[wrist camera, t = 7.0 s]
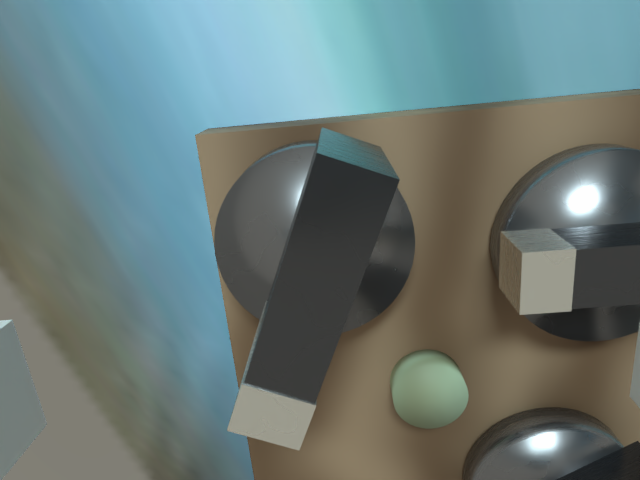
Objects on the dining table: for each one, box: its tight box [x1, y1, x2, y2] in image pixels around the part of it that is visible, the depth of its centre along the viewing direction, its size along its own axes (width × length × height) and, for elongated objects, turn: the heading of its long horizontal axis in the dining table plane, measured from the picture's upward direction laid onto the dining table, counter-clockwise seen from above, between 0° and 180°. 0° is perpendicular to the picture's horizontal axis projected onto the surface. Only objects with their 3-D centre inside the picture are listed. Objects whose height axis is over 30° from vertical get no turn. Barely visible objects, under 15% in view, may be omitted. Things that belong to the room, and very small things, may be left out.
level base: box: [195, 89, 640, 480], centre depth 21 cm, size 18×20×3 cm
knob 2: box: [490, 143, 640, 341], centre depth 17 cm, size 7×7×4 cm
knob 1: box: [214, 127, 415, 450], centre depth 16 cm, size 8×7×6 cm
